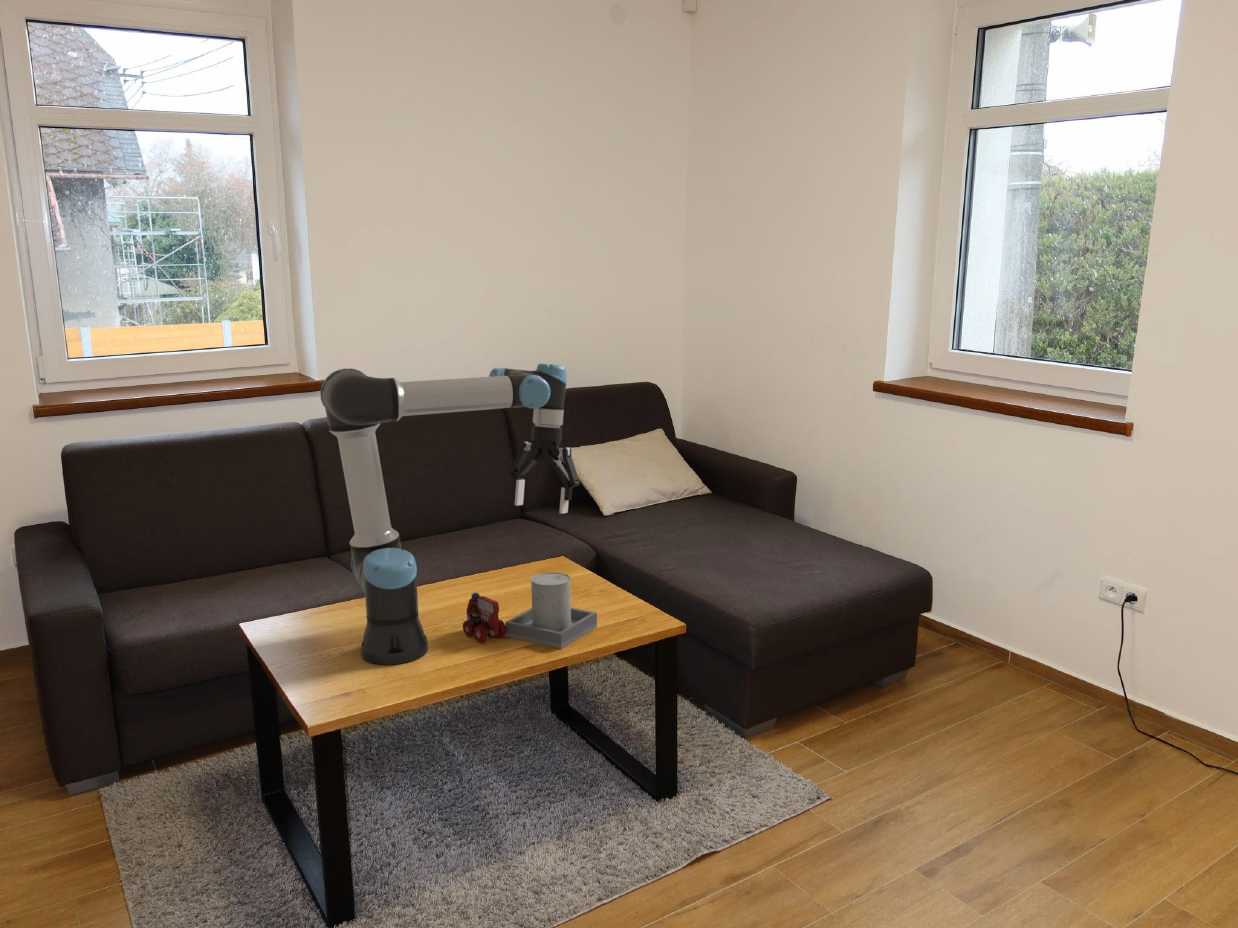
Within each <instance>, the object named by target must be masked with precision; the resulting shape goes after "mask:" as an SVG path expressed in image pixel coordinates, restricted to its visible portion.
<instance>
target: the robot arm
mask: <svg viewBox="0 0 1238 928" xmlns="http://www.w3.org/2000/svg"><path fill="white" fill-rule="evenodd" d="M567 385H568V384H567V368H566V367H565V366H564V365H562V364H551V363H538V364H537V366H536V369H535V370H527V369H526V370H525V369H517V368H514V369H513V368H506V367H502V368H501V367H494V368H493V369H491V371H490V372H489V375H488V376H483V377H482V376H481V377H465V378H463V377H462V378H447V379H446V378H445V379H431V380H430V379H429V380H418V381H417V380H414V381H399V380H397V379H396V377H391V378H390V377H384V378H383V377H382V378H381V377H376V376H375V377H374V376H369V375H366V374H365V373H364V372H363V371H361V370H359V369H356V368H340V369H337V370H334V371H332V372H331V373H329V375H327V377H325V379H324V380H323V382H322V384H321V389H320V401H321V403H322V406H323V407H324V408H325V414H326V420H327V425H328V431H329V432H330V434H332V435H333V436H335V437H336V438H337V442H338V448H339V454H340V459H341V466H342V470H343V476H344V481H345V486H346V491H347V492H346V493H347V497H348V498H347V499H348V504H349V508H350V515H351V520H352V526H353V531H354V535H353V536H352V538H351V539H350V541H349V546H350V547H349V548H350V551H351V559H350V561H351V563H350V565H351V571H352V574H353V577H354V578H355V579H356V581H357V582H358V583H359V585H360V587H361V588H362V591H363V592H364V599H365V609H366V611H365V614H366V625H365V628H364V629H365V630H364V633H363V638H362V641H361V644H360V653H361V654H360V655H361V658H362V660H364V661H365V662H368V663H371V664H373V665H374V664H375V665H386V666H387V665H399V664H404V663H408V662H409V663H410V662H412V661H415V660H417V659H420V658H421V657H423V656H425V655H426V654H427V653H428V651H429V641H428V637H427V635H426V634H425V631H424V627H423V625H422V622H421V620H420V617H419V616H420V615H419V602H418V601H419V599H418V582H417V581H418V579H417V577H418V576H417V574H418V572H417V571H418V567H417V563H416V559H415V556H414V555H413V554H412V553H411V552H410V551H408V550H405V549H402V546H401V545H402V544H401V539H400V533H399V532H398V531H397V530H396V529H394V528H393V527H392V524H391V519H390V512H389V511H390V510H389V506H388V501H387V493H386V489H385V483H384V476H383V472H382V471H383V470H382V466H381V459H380V453H379V446H378V441H377V436H376V431H377V429H378V428H379V427H380V426H381V423H389V422H398V421H399V420H400V419H401V418H402V417H406V416H408V417H409V416H419V415H432V414H433V415H435V414H445V413H458V412H459V413H461V412H471V411H483V410H485V411H486V410H495V409H496V410H497V409H507V408H508V409H509V408H513V409H514V408H515V409H516V408H528V409H533V414H532V415H533V416H532V423H533V424H534V425H533V426H532V427H531V428H532V429H531V439H532V442H530V441H522V442H521V443H520V445H519V446H520V448H519V450H518V452H517V455H516V457H515V459H514V460H513V463H512V464H511V466H510V468H509V470H508V472H507V476H508V477H511V478H513V492H514V493H515V495H514V496H515V497H514V498H515V499H514V506H516V507H517V506H523V505H524V498H525V484H526V480H525V479H524V477H525V476H526V474H527V473H528V472H529V471H530V470H531V469H532V468H533V467H534V466H535V464H536V463H545V464H550V465H551V466H552V467H553V468H554V469H553V470H555V472H556V474H557V475H558V477H559V479H560V481H561V483H562V485H563V487H561V489H560V501H559V513H558V514H567V513H568V512H569V501H572V495H573V488H574V487H578V486H580V485H581V483H580V479H579V476H578V472H577V469H576V465H575V463H574V460H573V457H572V448H571V446H570V447H561V442H562V438H563V437H562V436H563V435H562V434H563V428H562V427H561V426H563V424H564V414H565V413H564V411H565V410H564V409H565V397H566V390H567V389H566V388H567ZM530 451H531V454H530V456H529V457H528V458H527V456H528V454H529V452H530ZM560 456H561V458H562V460H561V458H560ZM526 458H527V460H526ZM525 460H526V461H525ZM524 461H525V462H524ZM562 461H563V464H562Z"/></svg>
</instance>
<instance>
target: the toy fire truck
mask: <svg viewBox="0 0 1238 928" xmlns="http://www.w3.org/2000/svg"><path fill="white" fill-rule="evenodd" d="M470 597H471V598H470V599H469V600H468V603H467V608H466V620H464V622H463V623H462V630H463V632H464V634H465V635H466V637H468V638H470V637H474V639H475V641H476V642H477V643H479V644H482V643H485V642H486V641H488V637H497V638H501V637H504V636H506V626H505V622H504V621H503V620H501V619H499V612H500V605H499V602H498V600H494V599H492V598H490V597H487V596H484V595H480V594H479V593H478V592H473V593H472V594H471V596H470Z"/></svg>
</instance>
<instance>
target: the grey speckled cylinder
mask: <svg viewBox="0 0 1238 928" xmlns="http://www.w3.org/2000/svg"><path fill="white" fill-rule="evenodd" d="M571 579H572V578H571V576H570V575H568V574H566V573H564V572H563V573H562V572H554V571H553V572H543V573H538V574H535V575H533V576H532V577H531V578H530V582H531V585H530V586H531V608H532V620H533V626H535V627H539V628H544V629H549V630H553V631H558V632H561V631H562V630H564V629H566V628H567V627H569V626H571V608H572V607H571V606H572V605H571Z"/></svg>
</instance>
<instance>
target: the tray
mask: <svg viewBox="0 0 1238 928" xmlns="http://www.w3.org/2000/svg"><path fill="white" fill-rule="evenodd" d="M504 624H505V626H506V634H505V637H506V638H509V639H514V638H515V639H516V640H519V641H524V642H528V643H533V644H536V645H537V644H538V645H542V646H547V647H551V648H554V649H559V650H562V649H564V648H566V647H567V646H568V645H569V646H570V644H572V643H573V642H575V641H577V640H579V639H580V638H582V637H583V636H584V635H587V634H588V633H590V632H591V631H593V630H594V629H596V628H598V613H597V612H596V611H591V610H585V609H583V608H582V609H581V608H577V607H571V626H569V627H567V628H566V629H564V630H562V631H561V632H558V631H553V630H549V629H544V628H539V627H535V626H533V620H532V607H531V608H529V609H527V610H525V611H524V612H523V611H522V612H521V613H520V614H517V615H516V616H514V617H512V618H510V619H508V620H506V621H505V622H504ZM581 636H582V637H581Z"/></svg>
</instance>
